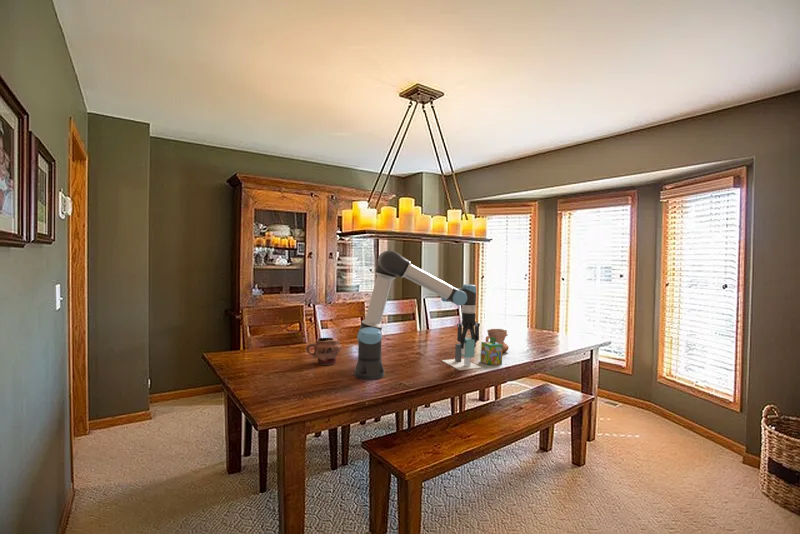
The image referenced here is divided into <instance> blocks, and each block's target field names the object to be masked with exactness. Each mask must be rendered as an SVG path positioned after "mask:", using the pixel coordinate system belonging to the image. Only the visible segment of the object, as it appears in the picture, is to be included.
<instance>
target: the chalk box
mask: <svg viewBox="0 0 800 534" xmlns="http://www.w3.org/2000/svg"><path fill="white" fill-rule="evenodd" d="M492 339H494V342H492ZM495 341H496V338H494V337H491V339H490V338H489V342H486V341H481V344H480V345H481V347H480V362H482V363H483V364H486V365H488V366H492V365H493V366H495V365H502V364H503V353H502V351H503V345H502V344H500V343H497V342H495Z"/></svg>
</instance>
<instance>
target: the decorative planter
mask: <svg viewBox="0 0 800 534" xmlns="http://www.w3.org/2000/svg"><path fill="white" fill-rule="evenodd" d="M312 347H313V348H314V352H313V353H311V352H310V351H309V349H310V348H312ZM342 349H343V345H342V344H341V343H340V341H339V339H337V338H334V337H319V338H317V339H316V340H315V342H310V343H308V344H307V345H306V347H305V350H306V351H305V352H306V353H307V354H308V355H310V356H311V357H313V358H315V359H316V358H317V363H318V364H319V365H321V366H322V365H324V366H325V365H327V366H328V365H333V364H336V363H337V355H338V354H339V352H340V351H341V350H342Z"/></svg>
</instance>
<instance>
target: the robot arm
mask: <svg viewBox="0 0 800 534" xmlns="http://www.w3.org/2000/svg"><path fill="white" fill-rule="evenodd" d="M376 262H377V264H376V268H375V270H374V271H375V272H374V273H375V275H376V279H375V282H374V284H373V285H374V286H373V290H372V293H371V297H370V301H369V304H368V308H367V310H366V316H365V319H363V320H361V322H360V325H359V326H360V327H359V329H358V331H357V334H356V340H357V344H358V348H357V351H358V353H357V356H358V358H357V363H356V365H355V368H354V371H353V374H354V377H355V378H357V379H360V380H365V381H367V380H370V381H372V380H379V379H382V378H384V377H385V369H384V367H383V362H382V339H383V335H382V329H383V325H382V323H381V322H382V319H383V315H384V313H385V312H384V311H385V308H386V304H387V300H388V297H389V295H390V294H389V293H390V290H391V286H392V282H393V280H395V279H396V278H397V277H399V278H405V279H407V280H409V281H411V282H413V283H415V284H417V285H419V286H420V287H422V288H425V289H426V290H429V291H430V292H431V293H434V294H436V295H437V296H439V297H440V298H441V299H440V300H441V301H442V302H446V303H452V304H455V305H456V306H461V311H462V312H461V323H457V324H456V326H457V340H456V342H458V343H459V344H460V348H461V349H462V351H461V354H463V355H465V343H464V341H465V338H467V337H466V336H467V332H468V330H469V332H470V336H471V337H470V338H472V339H474V340H475V348H476V345H477V344H476V343H477V342H478V341H480V325H481V324H480V323H479V322H476V312H477V310H476V309H477V286H476V284H470V283H469V284H462V287H459V288H457V287H455V286H453V285H451V284H449V283H447V282H446V281H444V280H443V279H440V278H438V277H436V276H435V275H433V274H431V273H429V272H428V271H425V270H423V269H421V268H419V267H417V266H416V265H414V264H412V263H411V261H410V260H408V259H407V258H405V257H404V256H402V255H401V254H400V253H398V252H397V251H394V250H385V251H382V252H381V253H380V254H379V256H378V257H377V261H376Z"/></svg>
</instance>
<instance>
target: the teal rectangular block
mask: <svg viewBox="0 0 800 534" xmlns="http://www.w3.org/2000/svg"><path fill="white" fill-rule="evenodd" d="M464 343H465V355H463V354H461V357H463V358H464V357H466V358H467V357H471V358H475V348H476V347H475V340H474V339H472V338H471V337H465V341H464ZM461 351H462V350H461Z"/></svg>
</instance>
